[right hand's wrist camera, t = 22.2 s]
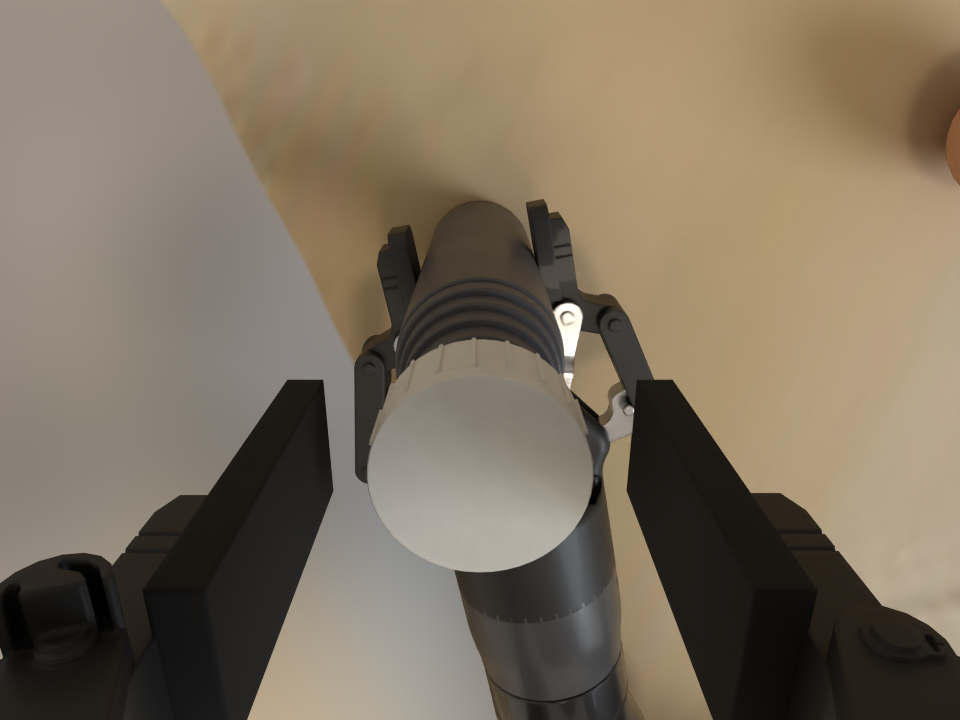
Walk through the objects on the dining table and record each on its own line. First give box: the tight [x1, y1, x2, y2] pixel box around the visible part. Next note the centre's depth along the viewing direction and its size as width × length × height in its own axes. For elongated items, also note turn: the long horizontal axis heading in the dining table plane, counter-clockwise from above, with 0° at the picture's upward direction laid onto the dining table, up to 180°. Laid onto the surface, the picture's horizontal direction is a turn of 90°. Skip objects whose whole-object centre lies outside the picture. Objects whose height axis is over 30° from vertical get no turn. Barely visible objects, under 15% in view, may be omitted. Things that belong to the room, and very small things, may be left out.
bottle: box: [395, 201, 565, 379], centre depth 23 cm, size 5×5×21 cm
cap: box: [367, 338, 594, 572], centre depth 14 cm, size 4×4×2 cm
